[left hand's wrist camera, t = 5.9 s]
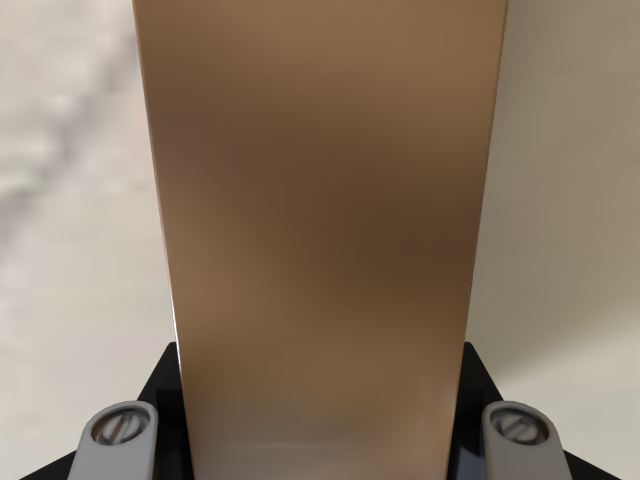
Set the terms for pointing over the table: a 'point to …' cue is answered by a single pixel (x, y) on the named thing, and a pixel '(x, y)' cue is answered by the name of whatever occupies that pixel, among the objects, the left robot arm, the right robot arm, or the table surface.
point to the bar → (320, 224)
